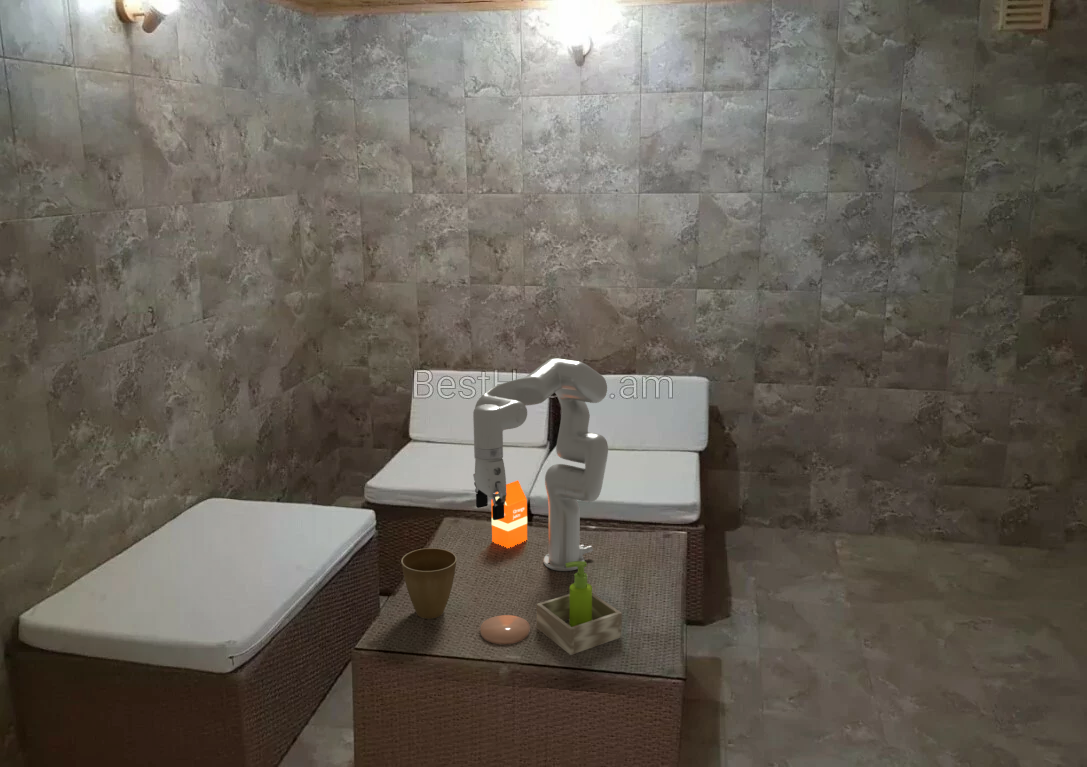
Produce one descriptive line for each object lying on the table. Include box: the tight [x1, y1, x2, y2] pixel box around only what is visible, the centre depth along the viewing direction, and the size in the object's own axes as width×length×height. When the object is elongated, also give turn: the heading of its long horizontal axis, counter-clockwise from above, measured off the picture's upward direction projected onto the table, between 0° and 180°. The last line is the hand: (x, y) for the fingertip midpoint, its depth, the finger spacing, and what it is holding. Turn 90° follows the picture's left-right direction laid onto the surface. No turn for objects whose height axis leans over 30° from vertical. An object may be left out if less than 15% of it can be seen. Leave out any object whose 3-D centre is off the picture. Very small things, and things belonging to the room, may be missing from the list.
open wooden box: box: [536, 592, 623, 656], centre depth 237 cm, size 16×16×7 cm
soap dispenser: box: [566, 560, 593, 627], centre depth 235 cm, size 6×7×20 cm
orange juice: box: [490, 479, 528, 549], centre depth 292 cm, size 8×9×20 cm
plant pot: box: [400, 547, 458, 620], centre depth 247 cm, size 15×15×16 cm
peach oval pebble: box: [479, 614, 531, 645], centre depth 239 cm, size 13×13×1 cm
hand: (490, 512), depth 240 cm, fingers open, 9 cm apart
